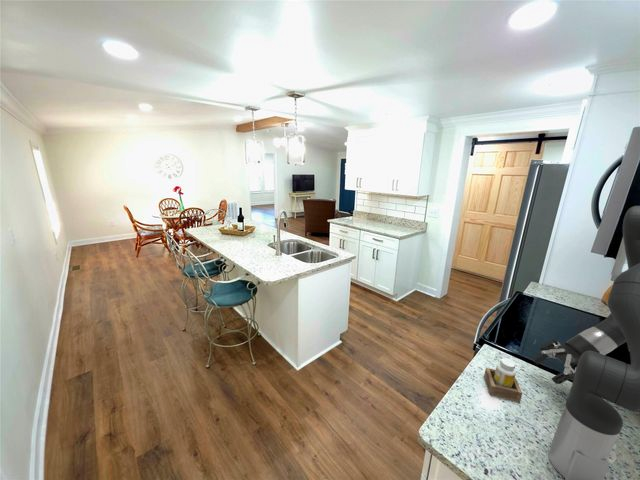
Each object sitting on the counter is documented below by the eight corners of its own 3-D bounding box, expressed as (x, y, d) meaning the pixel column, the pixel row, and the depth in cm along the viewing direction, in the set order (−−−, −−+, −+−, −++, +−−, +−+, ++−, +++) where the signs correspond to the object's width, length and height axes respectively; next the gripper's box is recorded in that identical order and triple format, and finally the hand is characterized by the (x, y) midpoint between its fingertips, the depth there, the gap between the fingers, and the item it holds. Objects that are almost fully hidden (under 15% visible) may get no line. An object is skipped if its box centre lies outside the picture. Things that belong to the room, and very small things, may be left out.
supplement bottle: (490, 383, 90) (495, 361, 87) (496, 376, 93) (501, 354, 90) (508, 394, 86) (515, 370, 83) (514, 385, 89) (520, 362, 86)
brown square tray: (519, 402, 85) (522, 393, 83) (489, 395, 87) (492, 385, 86) (511, 382, 92) (513, 373, 91) (483, 376, 95) (485, 367, 94)
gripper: (565, 323, 89) (522, 349, 93) (606, 352, 75) (553, 381, 79) (577, 337, 90) (535, 362, 94) (620, 368, 76) (567, 396, 80)
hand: (543, 371), depth 87 cm, fingers open, 8 cm apart
